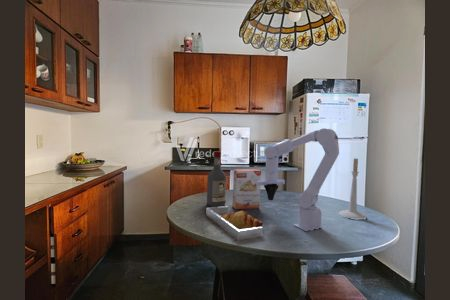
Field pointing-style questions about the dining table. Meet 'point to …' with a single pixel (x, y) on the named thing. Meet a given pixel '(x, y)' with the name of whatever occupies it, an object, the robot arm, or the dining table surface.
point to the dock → (232, 230)
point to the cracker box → (246, 188)
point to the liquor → (216, 184)
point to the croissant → (241, 220)
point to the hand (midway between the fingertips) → (270, 199)
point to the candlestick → (353, 196)
